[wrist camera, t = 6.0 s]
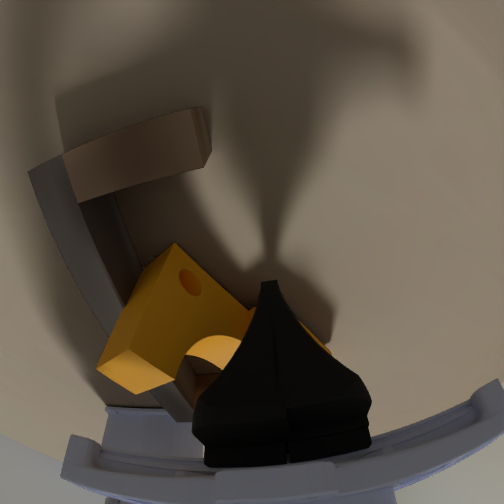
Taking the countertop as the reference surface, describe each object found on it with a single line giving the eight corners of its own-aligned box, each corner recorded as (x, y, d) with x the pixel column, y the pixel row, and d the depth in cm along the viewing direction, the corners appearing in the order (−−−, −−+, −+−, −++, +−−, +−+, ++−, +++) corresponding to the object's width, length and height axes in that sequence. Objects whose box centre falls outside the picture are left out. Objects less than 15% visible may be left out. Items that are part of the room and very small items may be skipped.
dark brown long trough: (180, 390, 20) (176, 422, 17) (64, 153, 11) (27, 171, 8) (268, 381, 20) (272, 415, 17) (201, 106, 10) (189, 108, 8)
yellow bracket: (330, 351, 17) (347, 439, 12) (277, 375, 19) (281, 457, 14) (200, 221, 13) (161, 328, 7) (143, 269, 14) (95, 368, 9)
